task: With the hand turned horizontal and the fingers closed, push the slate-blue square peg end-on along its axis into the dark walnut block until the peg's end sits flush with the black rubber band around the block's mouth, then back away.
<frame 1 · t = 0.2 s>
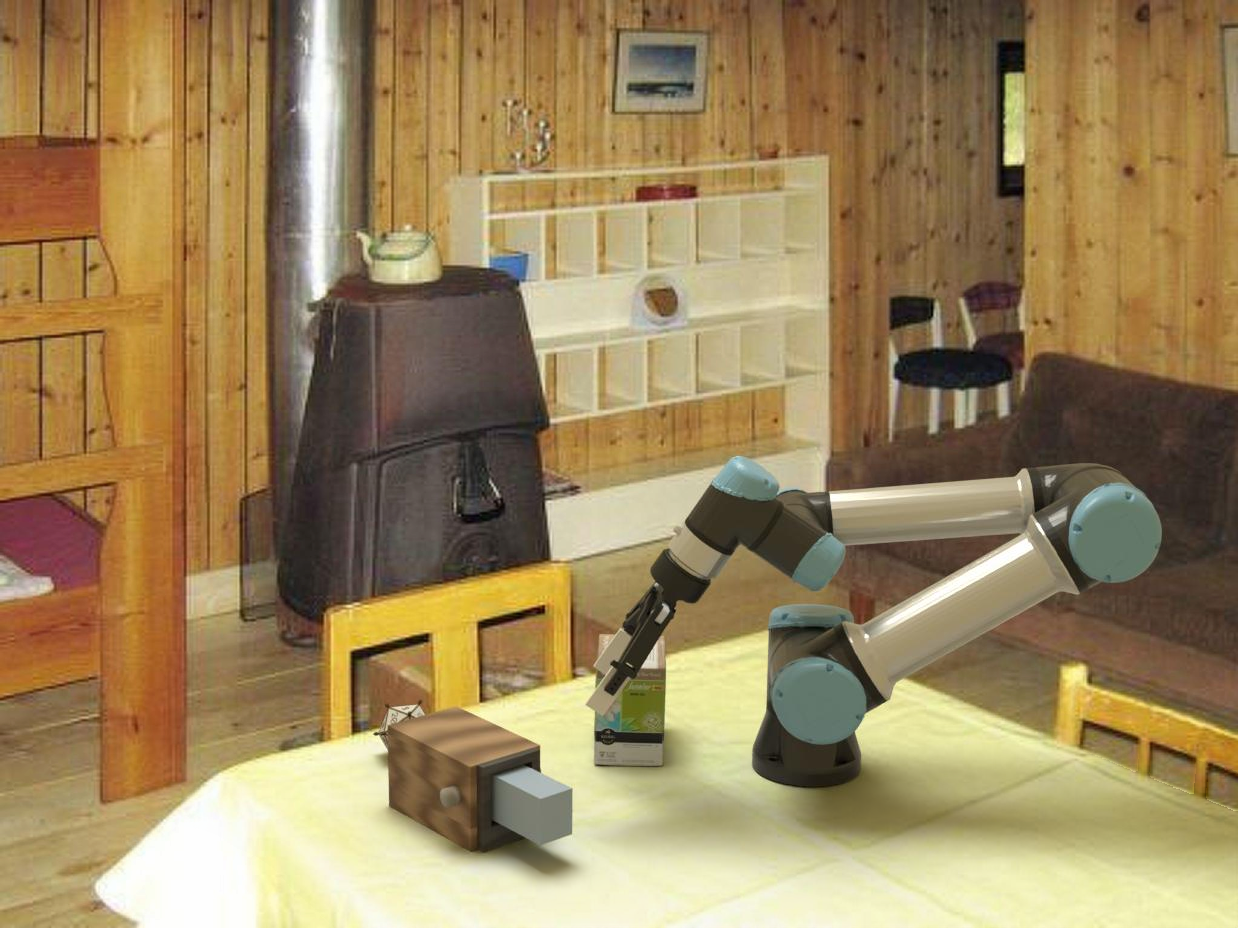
hand: (598, 690, 233), 15 cm above the table, tool tilted 35°, fingers open, 13 cm apart
peg: (518, 797, 220), point 7 cm above the table, slide at 0.0 cm
walnut block: (463, 816, 230), on the table
tea box: (629, 748, 254), on the table
game die: (406, 758, 249), on the table
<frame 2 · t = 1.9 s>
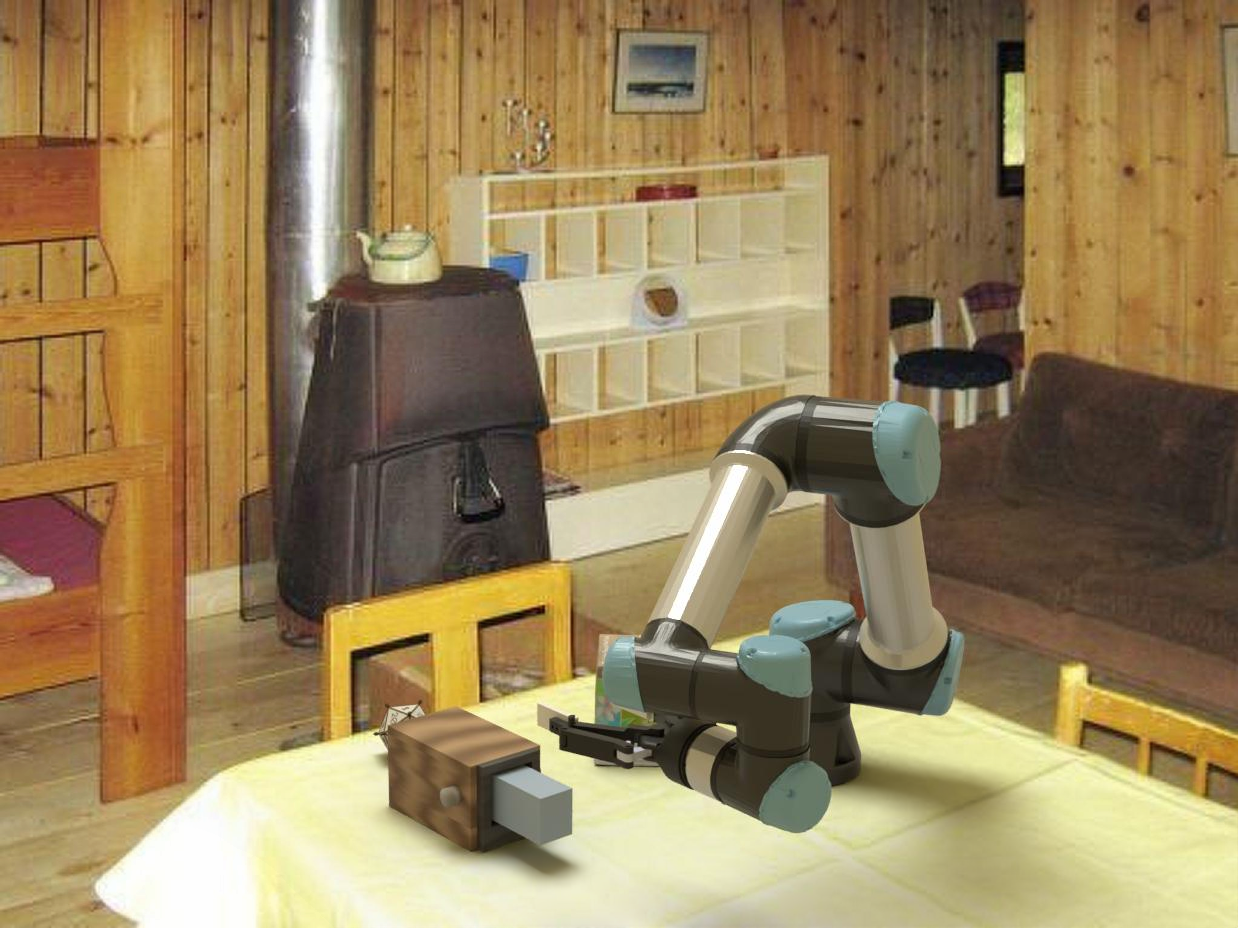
hand: (576, 702, 208), 22 cm above the table, tool horizontal, fingers open, 10 cm apart
nothing on the table moved.
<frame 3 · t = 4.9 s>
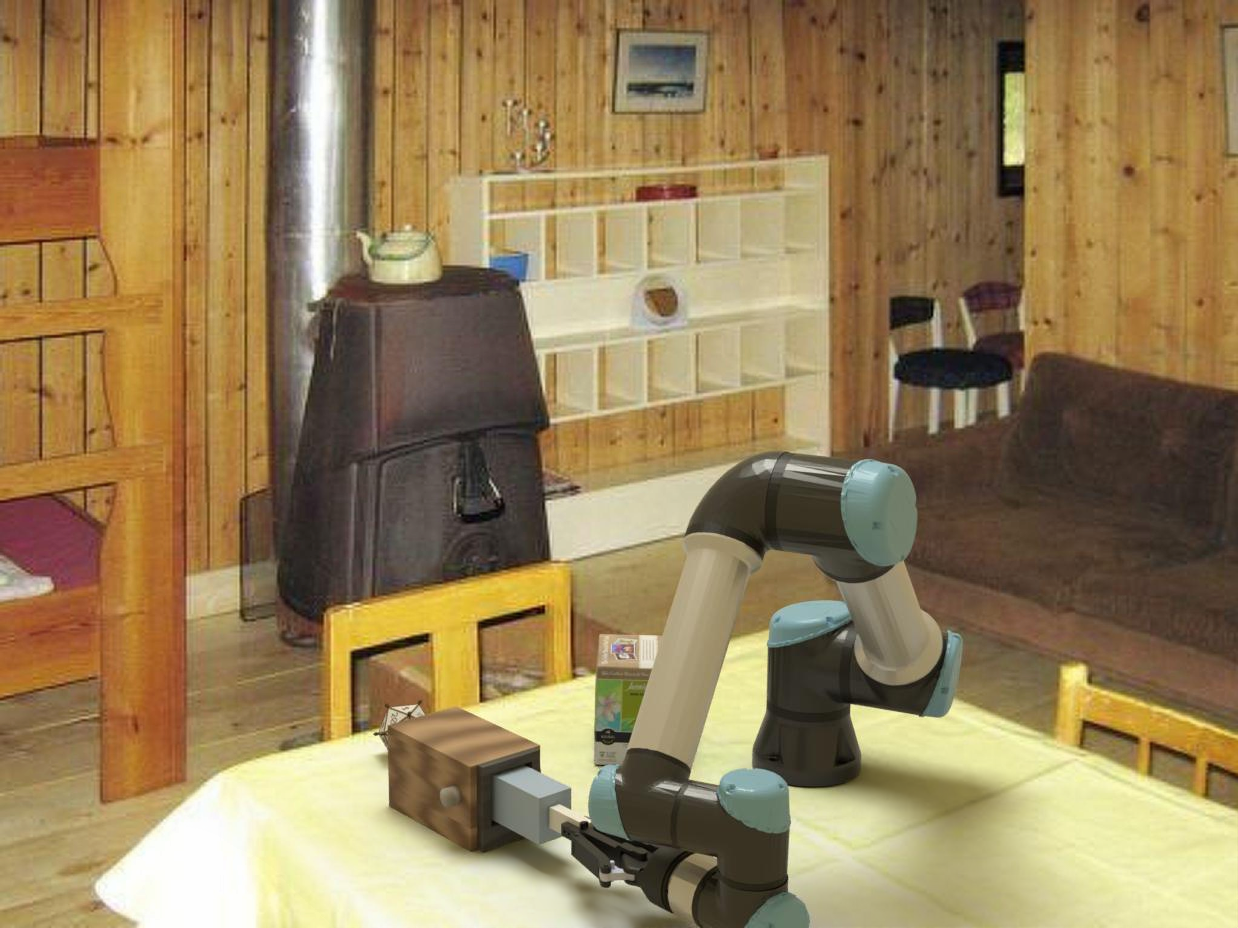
hand: (554, 815, 214), 7 cm above the table, tool horizontal, fingers closed
peg: (517, 796, 220), point 7 cm above the table, slide at 0.2 cm, touching gripper
everything else where it was.
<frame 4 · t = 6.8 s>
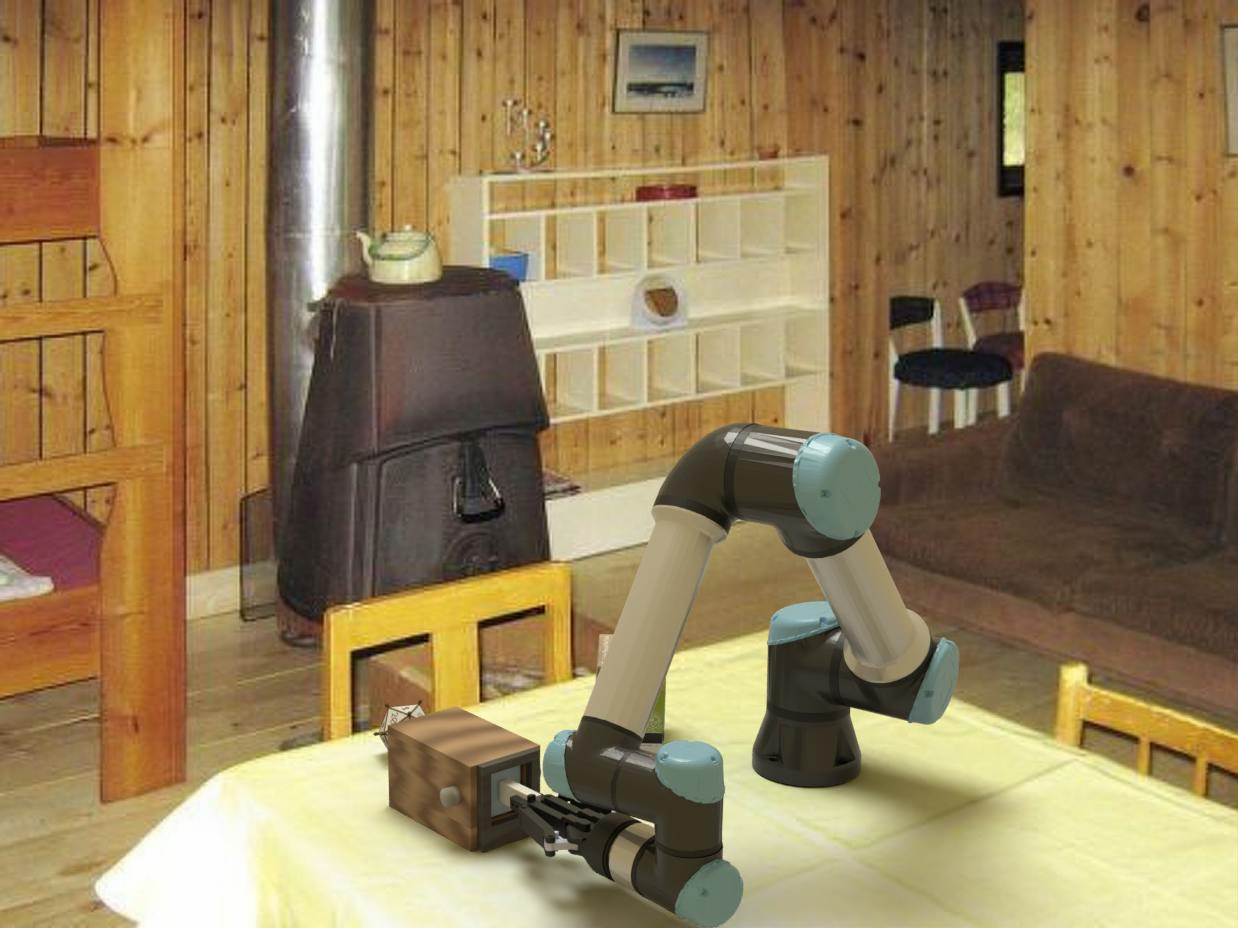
hand: (504, 789, 221), 7 cm above the table, tool horizontal, fingers closed
peg: (468, 772, 227), point 6 cm above the table, slide at 10.3 cm, touching gripper
everything else where it was.
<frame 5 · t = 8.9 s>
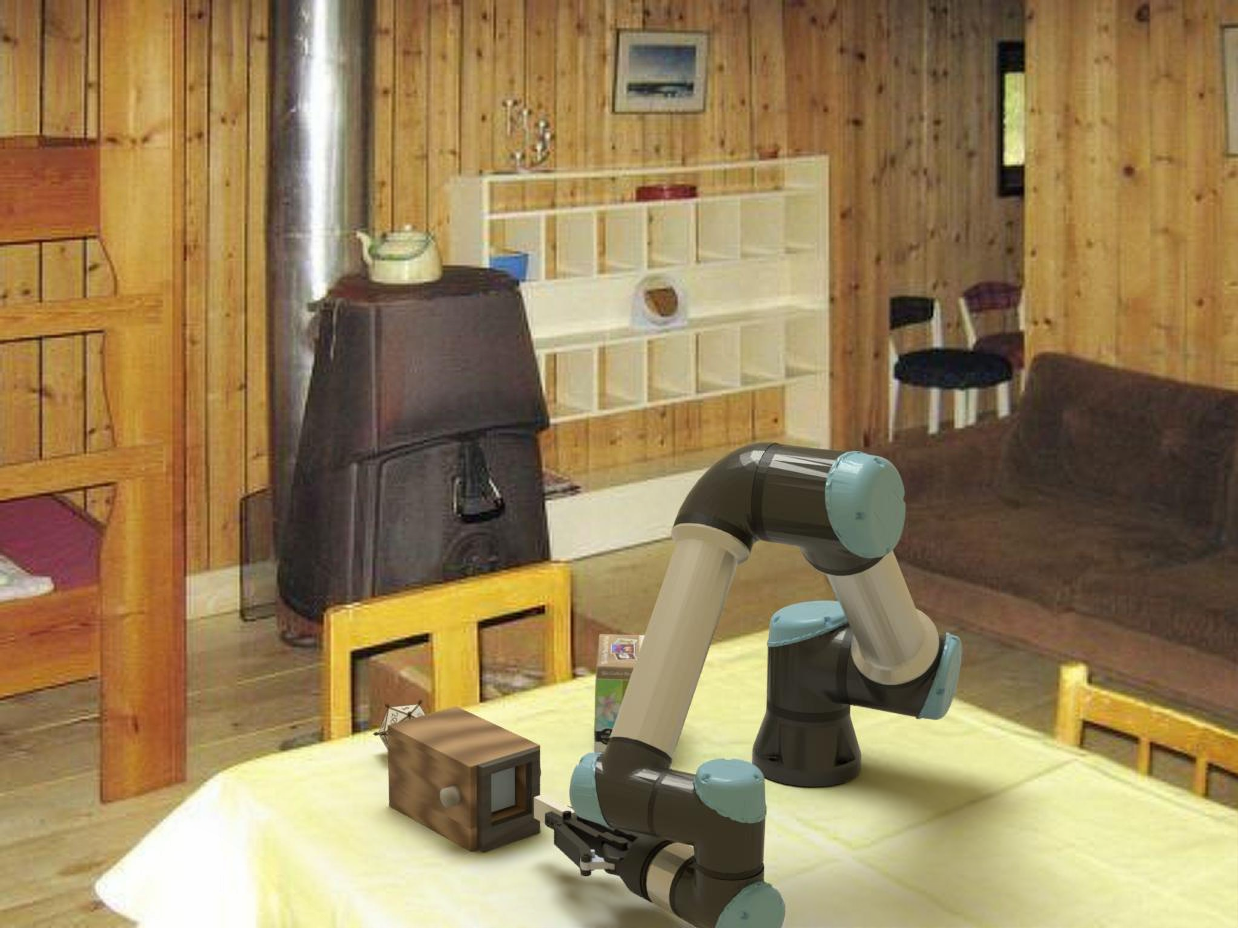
hand: (538, 805, 216), 7 cm above the table, tool horizontal, fingers closed
peg: (463, 769, 228), point 6 cm above the table, slide at 11.4 cm
everything else where it was.
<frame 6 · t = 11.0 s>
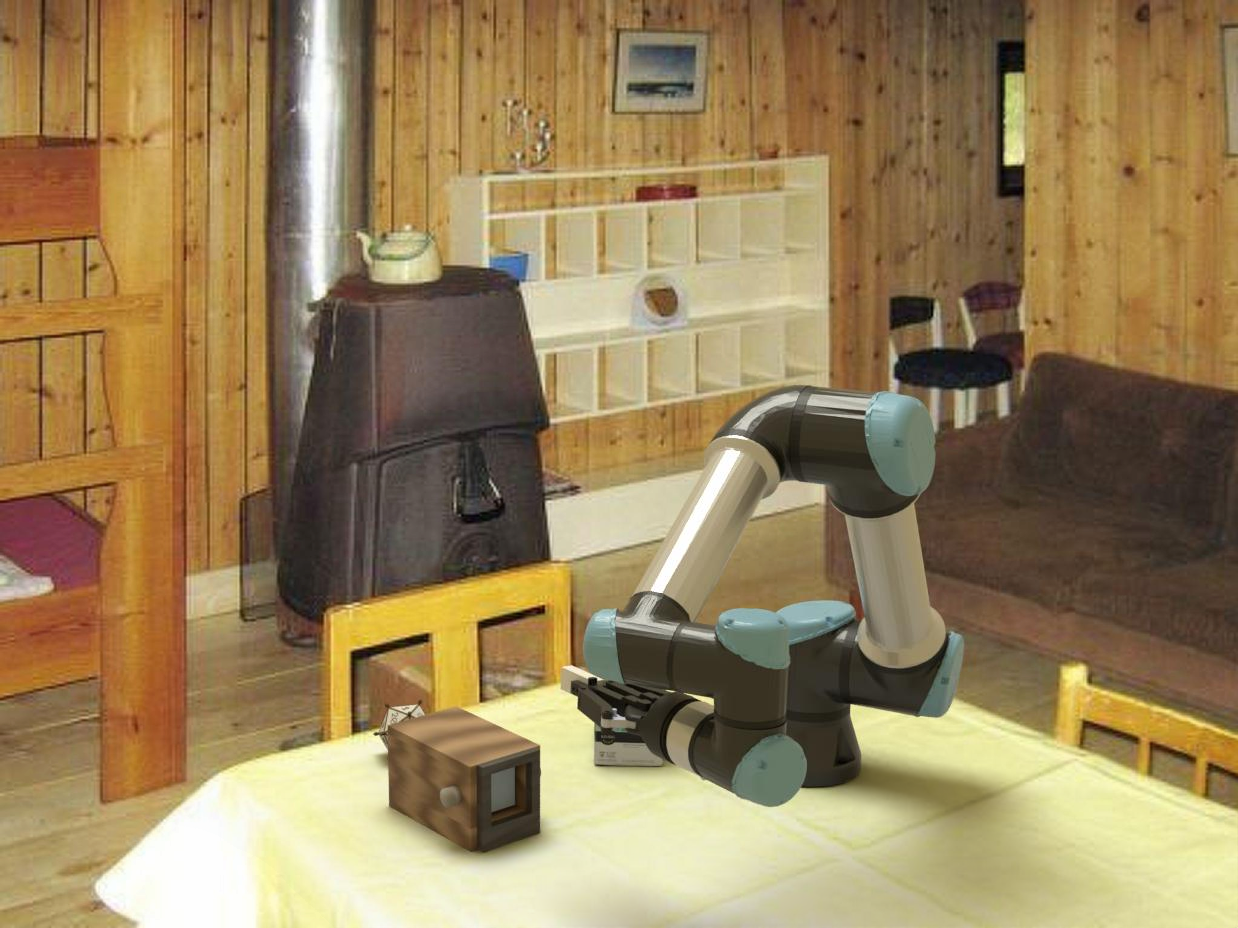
hand: (566, 677, 211), 24 cm above the table, tool horizontal, fingers closed
nothing on the table moved.
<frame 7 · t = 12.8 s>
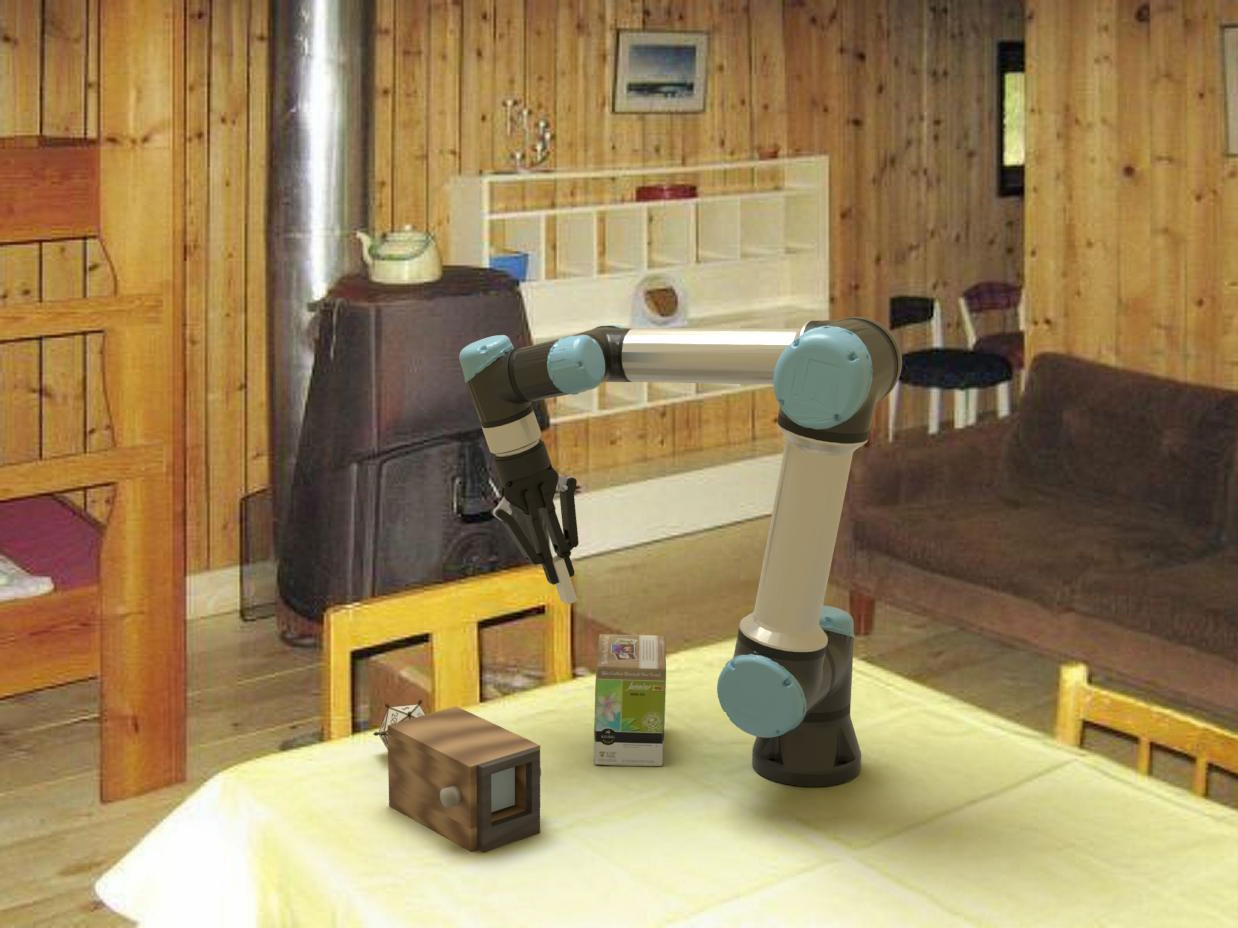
hand: (569, 600, 250), 21 cm above the table, tool tilted 20°, fingers closed
nothing on the table moved.
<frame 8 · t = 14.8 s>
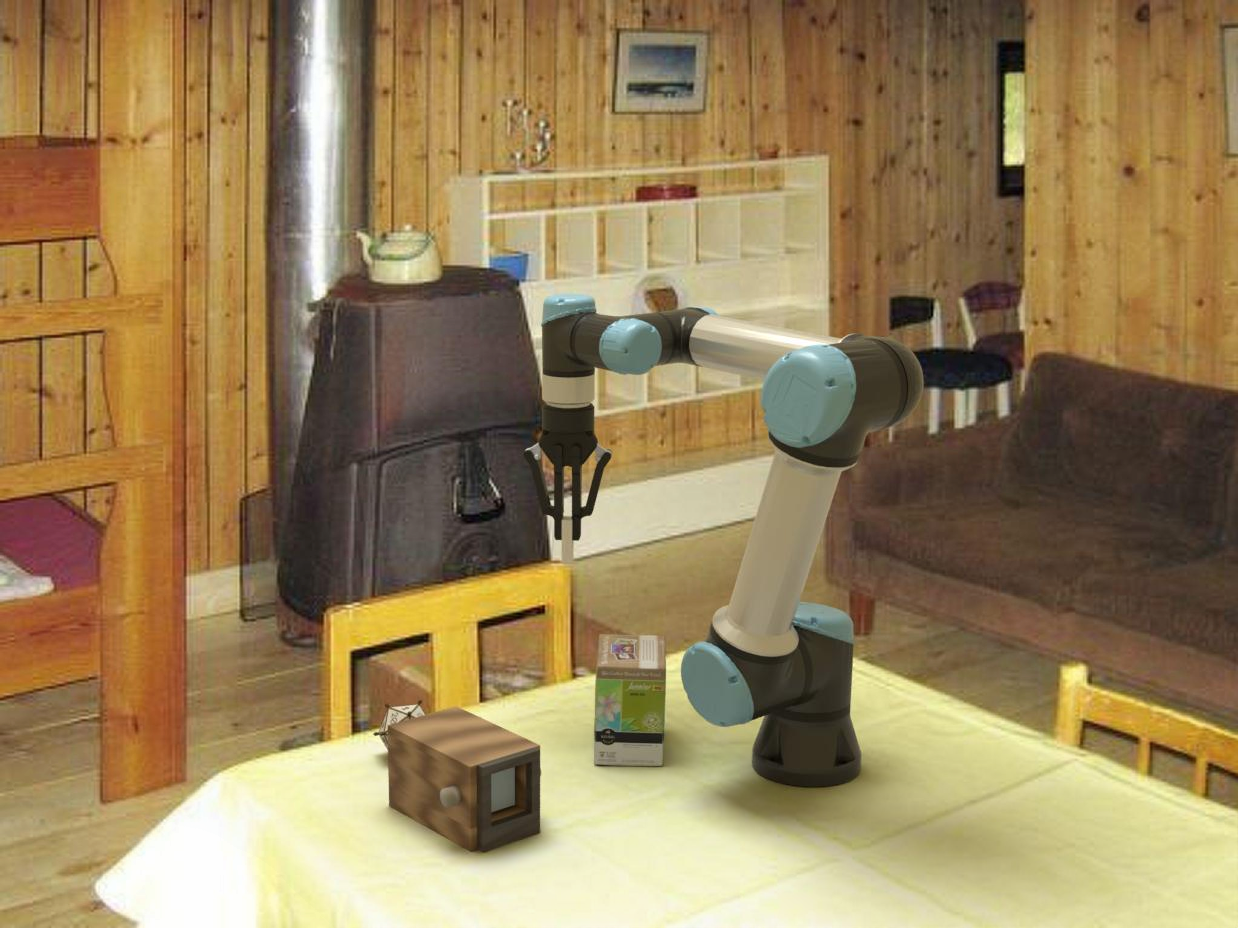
hand: (567, 561, 259), 24 cm above the table, tool pointing down, fingers closed
nothing on the table moved.
at the end: peg slide at 11.4 cm; the gripper is holding nothing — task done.
